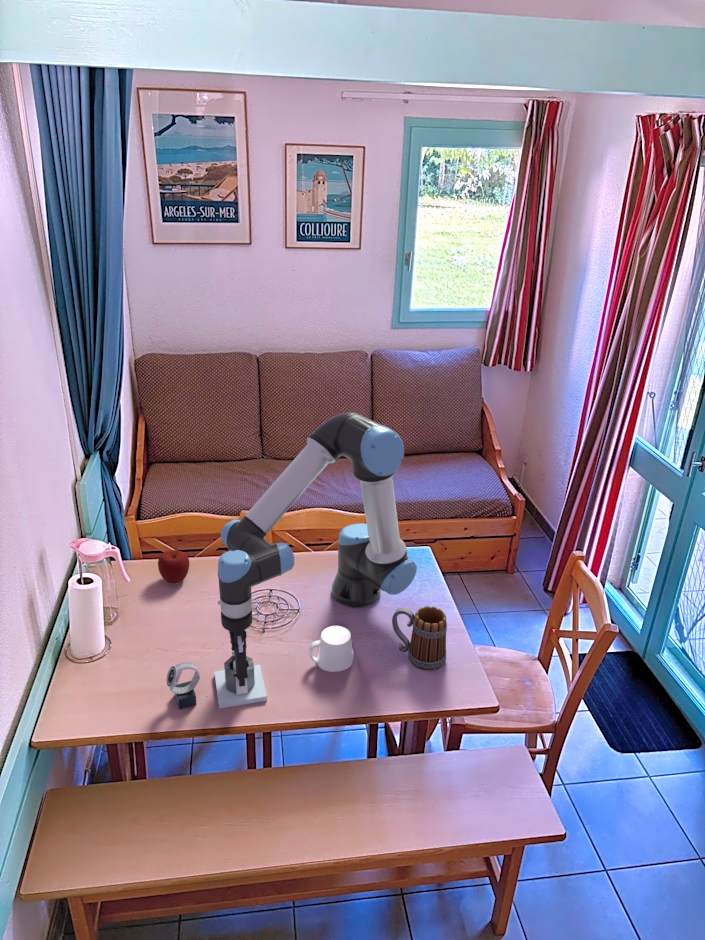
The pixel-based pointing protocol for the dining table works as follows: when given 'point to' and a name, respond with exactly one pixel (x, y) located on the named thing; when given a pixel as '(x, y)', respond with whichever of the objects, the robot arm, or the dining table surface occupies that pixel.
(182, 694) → the watch
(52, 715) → the dining table surface
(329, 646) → the mug
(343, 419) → the robot arm
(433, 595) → the dining table surface
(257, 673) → the post block
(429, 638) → the mug
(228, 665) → the collar
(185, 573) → the apple
